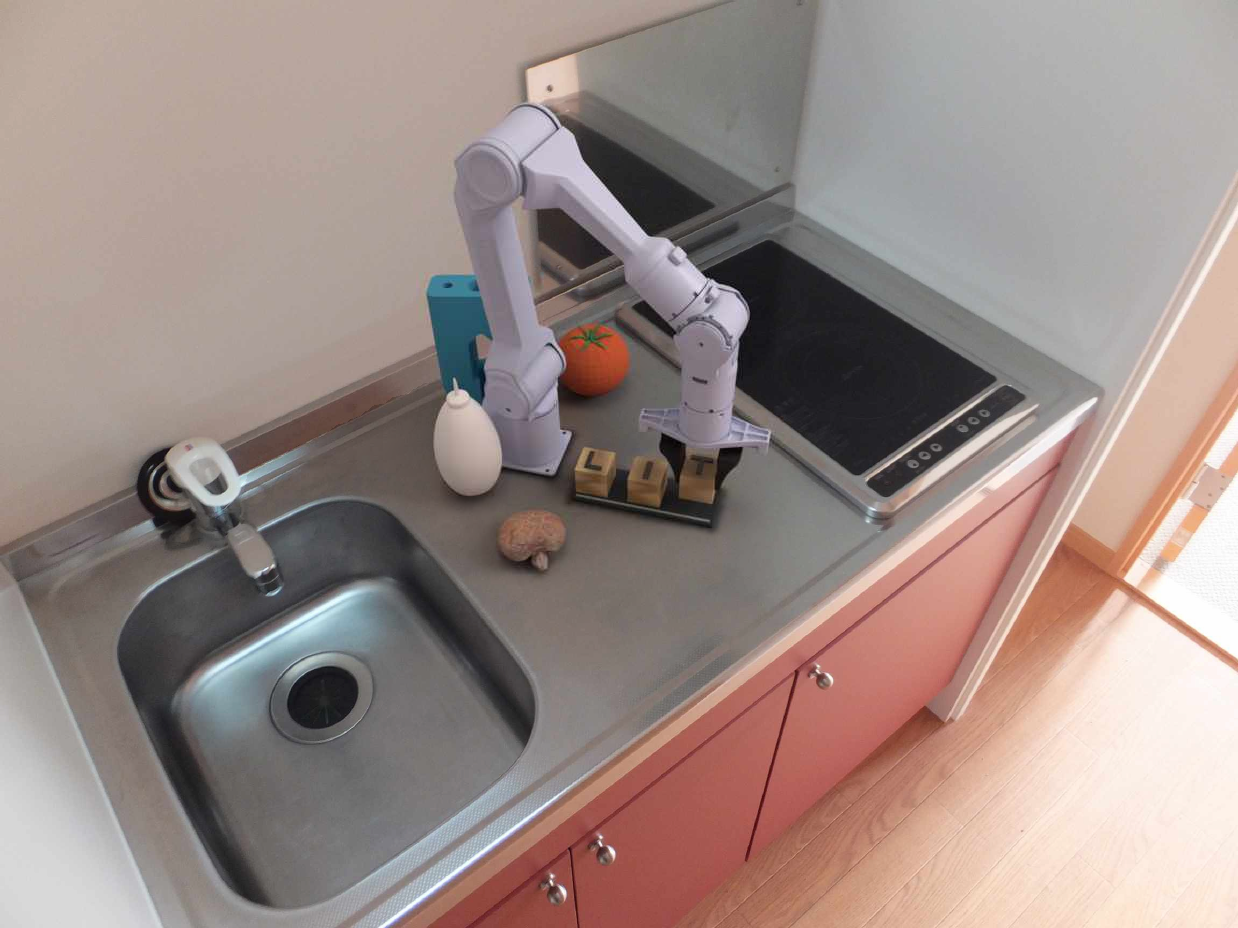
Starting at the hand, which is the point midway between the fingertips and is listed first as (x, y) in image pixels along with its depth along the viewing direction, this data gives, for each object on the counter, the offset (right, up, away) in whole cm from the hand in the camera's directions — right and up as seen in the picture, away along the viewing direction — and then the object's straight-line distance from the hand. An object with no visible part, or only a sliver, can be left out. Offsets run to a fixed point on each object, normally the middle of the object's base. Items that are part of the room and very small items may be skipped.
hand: (699, 481), depth 103 cm
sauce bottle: (-27, -1, +6) cm, 28 cm away
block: (-26, +8, +15) cm, 31 cm away
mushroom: (-20, -8, -1) cm, 21 cm away
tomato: (-13, +13, +19) cm, 26 cm away
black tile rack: (-6, -2, +4) cm, 8 cm away
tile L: (-12, 0, +5) cm, 13 cm away
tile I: (-6, -1, +4) cm, 7 cm away
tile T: (0, -1, +1) cm, 1 cm away
